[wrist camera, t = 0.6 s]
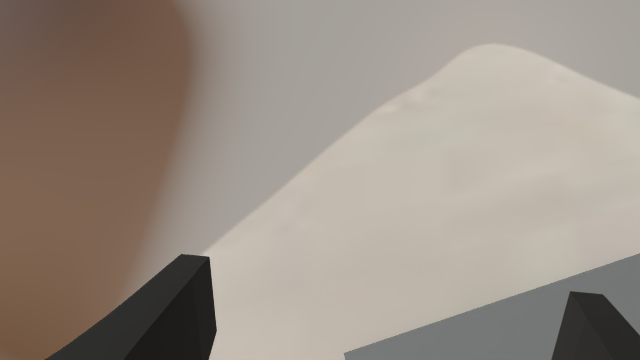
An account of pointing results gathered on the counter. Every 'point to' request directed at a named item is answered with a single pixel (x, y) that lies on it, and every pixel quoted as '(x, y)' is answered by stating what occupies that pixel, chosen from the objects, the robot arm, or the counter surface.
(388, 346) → the rubber mat
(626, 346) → the robot arm
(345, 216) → the counter surface
